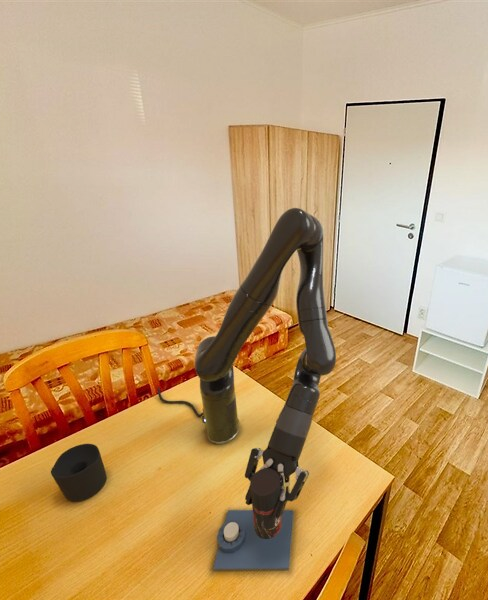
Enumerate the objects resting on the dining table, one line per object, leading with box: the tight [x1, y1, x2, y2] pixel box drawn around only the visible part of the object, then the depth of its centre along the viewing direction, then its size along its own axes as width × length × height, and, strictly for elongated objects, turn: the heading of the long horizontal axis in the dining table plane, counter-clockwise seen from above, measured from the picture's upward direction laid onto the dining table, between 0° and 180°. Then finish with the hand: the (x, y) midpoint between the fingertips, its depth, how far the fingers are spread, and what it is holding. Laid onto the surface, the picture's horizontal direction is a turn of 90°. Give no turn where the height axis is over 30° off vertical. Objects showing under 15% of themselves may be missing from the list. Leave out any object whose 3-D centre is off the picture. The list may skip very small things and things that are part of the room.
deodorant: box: [249, 468, 281, 539], centre depth 68 cm, size 6×6×15 cm
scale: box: [212, 509, 294, 572], centre depth 72 cm, size 17×12×2 cm
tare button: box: [224, 522, 239, 542], centre depth 71 cm, size 3×3×2 cm
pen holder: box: [50, 443, 108, 503], centre depth 79 cm, size 9×9×10 cm
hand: (261, 510), depth 66 cm, fingers closed on deodorant, 6 cm apart
